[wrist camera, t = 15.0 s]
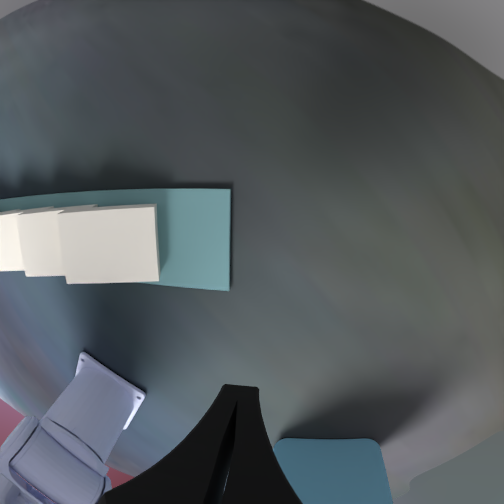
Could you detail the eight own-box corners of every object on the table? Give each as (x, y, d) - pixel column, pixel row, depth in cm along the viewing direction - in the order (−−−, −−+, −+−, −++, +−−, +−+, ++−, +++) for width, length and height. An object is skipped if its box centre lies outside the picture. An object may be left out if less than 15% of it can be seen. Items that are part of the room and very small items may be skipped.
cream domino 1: (45, 209, 18) (-13, 217, 16) (54, 269, 19) (-3, 271, 18) (53, 206, 19) (-4, 213, 18) (60, 262, 21) (5, 265, 19)
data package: (268, 455, 27) (260, 542, 15) (274, 435, 25) (268, 534, 14) (363, 456, 26) (376, 534, 15) (378, 436, 25) (397, 522, 13)
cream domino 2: (91, 207, 17) (15, 215, 16) (99, 274, 19) (26, 276, 17) (97, 204, 19) (25, 211, 17) (104, 267, 20) (34, 269, 19)
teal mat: (231, 188, 18) (229, 189, 18) (229, 288, 20) (229, 291, 20) (-12, 201, 20) (-15, 201, 20) (-4, 260, 22) (-6, 261, 22)
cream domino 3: (154, 207, 17) (56, 213, 15) (159, 281, 18) (67, 283, 17) (156, 203, 18) (65, 209, 17) (160, 272, 20) (73, 275, 18)
